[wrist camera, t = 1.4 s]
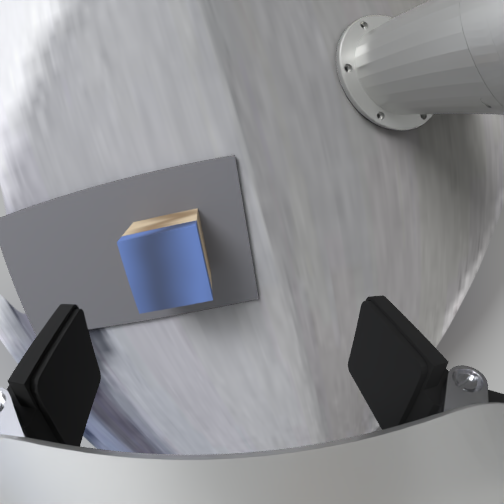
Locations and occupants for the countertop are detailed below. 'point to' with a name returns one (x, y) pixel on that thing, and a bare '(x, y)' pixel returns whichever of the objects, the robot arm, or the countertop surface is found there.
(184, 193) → the mat
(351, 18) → the countertop surface
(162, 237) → the cube
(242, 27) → the countertop surface
